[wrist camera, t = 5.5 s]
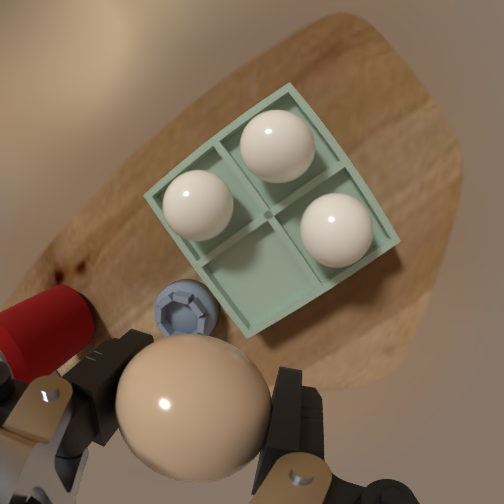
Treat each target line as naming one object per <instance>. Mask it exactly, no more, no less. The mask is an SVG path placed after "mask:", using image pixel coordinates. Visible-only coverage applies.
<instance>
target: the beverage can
mask: <svg viewBox="0 0 504 504" xmlns="http://www.w3.org/2000/svg"><path fill="white" fill-rule="evenodd" d="M93 336H94V320H93V316H92V313H91V311H90V309H89V307H88V305H87V303H86V302H85V300H84V299H83V298H82V296H81V295H80V294H79V293H78V292H76V291H75V290H74V289H72V288H70V287H68V286H65V285H58V286H55V287H53V288H51V289H49V290H46V291H44V292H42V293H40V294H37V295H35V296H33V297H31V298H29V299H27V300H25V301H23V302H20V303H18V304H16V305H14V306H12V307H10V308H8V309H6V310H4V311H2V312H0V361H2V362H4V363H5V364H7V366H8V367H9V369H10V373H11V376H12V379H15V380H19V381H22V382H26V383H29V384H30V383H31V382H32V381H33V380H35V379H36V378H39V377H42V376H49V375H51V374H52V373H53V372H54V371H56V370H57V369H58V368H59V367H61V366H62V365H63V364H64V363H66V362H67V361H68V360H69V359H71V358H72V357H73V356H74V355H75V354H77V353H78V352H79V351H80V350H82V349H83V348H84V347H85V346H87V345H88V344H89V343H90V342H91V340H92V338H93Z"/></svg>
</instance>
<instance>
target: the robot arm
mask: <svg viewBox="0 0 504 504" xmlns="http://www.w3.org/2000/svg"><path fill="white" fill-rule="evenodd" d="M152 343H154V340H153V336H152V335H150V334H147V333H143V332H140V331H137V330H134V329H131V330H129V331H128V332H127V333H126V334H125V335H123V336H122V337H121V338H120V339H117V338H114V339H111V340H108V341H106V342H103V343H102V344H100V345H99V346H98V347H97V348H96V349H94V352H91V353H90V354H88V355H87V357H86V358H84V359H82V360H81V361H80V362H79V363H78V364H76V365H75V366H74V367H73V368H72V369H70V370H69V371H68V372H67V373H66V374H65V375H63V376H62V377H60V376H59V375H58V373H57V372H56V371H54V372H53V373H52V374H51V375H49V376H42V377H39V378H36V379H35V380H33V381H32V382H31V383H30V384H29V383H26V382H22V381H19V380H15V379H12V376H11V373H10V369H9V367H8V366H7V364H5V363H4V362H2V361H0V504H76V496H77V493H78V489H79V485H80V481H81V478H82V475H83V471H84V468H85V465H86V461H87V458H88V448H87V447H88V445H89V444H90V443H91V442H92V441H93V442H95V443H97V444H100V445H102V446H105V445H106V443H107V442H108V441H109V439H110V438H111V437H112V435H113V434H114V432H115V431H116V430H117V429H118V424H117V420H116V414H115V395H116V390H117V386H118V383H119V380H120V377H121V375H122V373H123V371H124V369H125V368H126V366H127V365H128V363H129V362H130V361H131V360H132V359H133V357H134V356H135V355H136V354H137V353H139V352H140V351H141V350H142V349H144V348H145V347H146V346H148V345H150V344H152ZM271 401H272V413H271V418H270V423H269V427H268V432H267V436H266V439H265V443H264V446H263V448H262V449H261V451H260V456H259V461H258V466H257V471H256V475H255V480H254V485H253V489H252V495H254V497H253V498H252V499H251V501H250V503H249V504H419V502H418V501H417V499H416V498H415V496H414V494H413V493H412V491H411V490H410V489H409V488H408V487H407V486H406V485H404V484H403V483H401V482H399V481H395V480H392V479H381V480H377V481H374V482H372V483H370V484H369V485H368V486H367V487H362V486H359V485H356V484H353V483H349V482H346V481H344V480H342V479H340V478H338V477H336V476H335V475H334V474H333V473H332V472H331V470H330V468H329V466H328V465H327V463H326V462H325V460H324V434H323V412H322V411H323V408H322V398H321V396H320V395H319V393H318V391H317V390H316V388H313V387H306V386H302V370H297V369H291V368H286V367H279V371H278V375H277V379H276V383H275V387H274V391H273V395H272V399H271Z"/></svg>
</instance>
